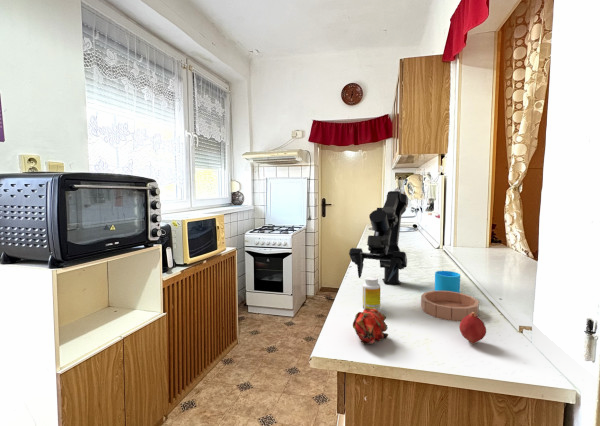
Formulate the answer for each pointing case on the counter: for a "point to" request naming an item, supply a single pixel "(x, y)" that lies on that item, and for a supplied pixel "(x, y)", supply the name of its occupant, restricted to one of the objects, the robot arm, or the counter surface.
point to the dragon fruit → (370, 325)
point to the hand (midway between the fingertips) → (373, 278)
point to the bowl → (449, 305)
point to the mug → (447, 281)
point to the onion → (472, 328)
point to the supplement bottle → (371, 293)
